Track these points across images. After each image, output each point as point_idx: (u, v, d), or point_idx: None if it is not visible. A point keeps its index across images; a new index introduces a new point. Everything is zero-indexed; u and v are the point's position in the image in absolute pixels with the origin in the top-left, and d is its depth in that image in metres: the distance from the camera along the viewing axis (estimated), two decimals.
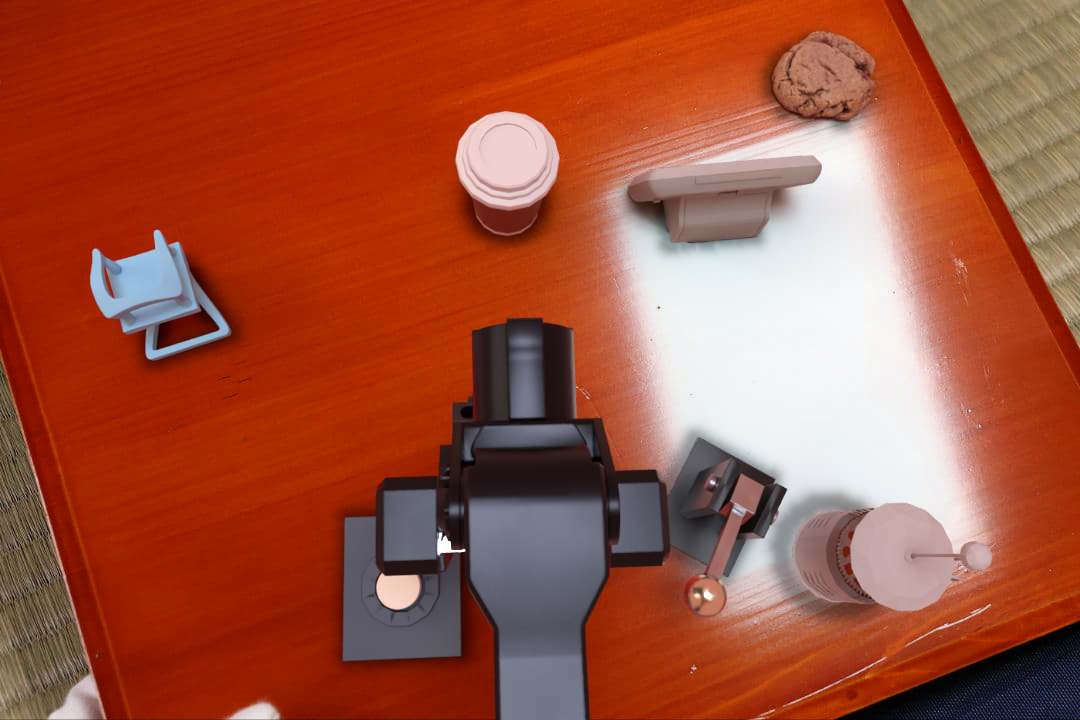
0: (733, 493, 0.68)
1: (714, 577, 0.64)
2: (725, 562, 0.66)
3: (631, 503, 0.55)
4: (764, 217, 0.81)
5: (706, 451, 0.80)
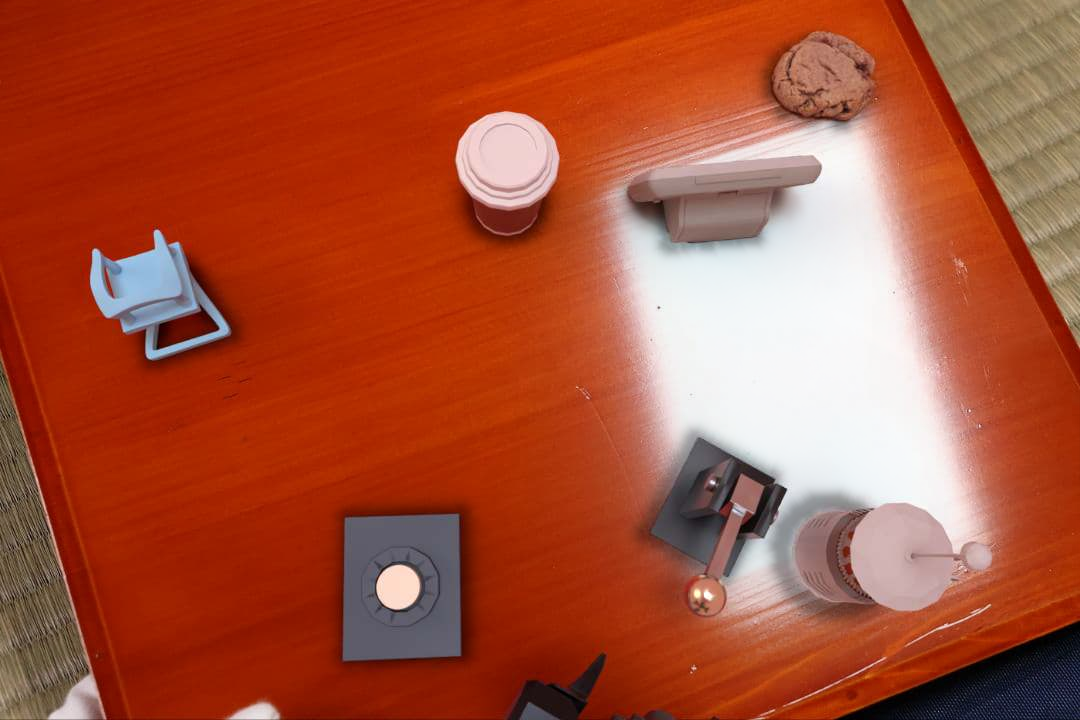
0: (733, 493, 0.68)
1: (714, 577, 0.64)
2: (725, 562, 0.66)
3: None
4: (764, 217, 0.81)
5: (706, 451, 0.80)
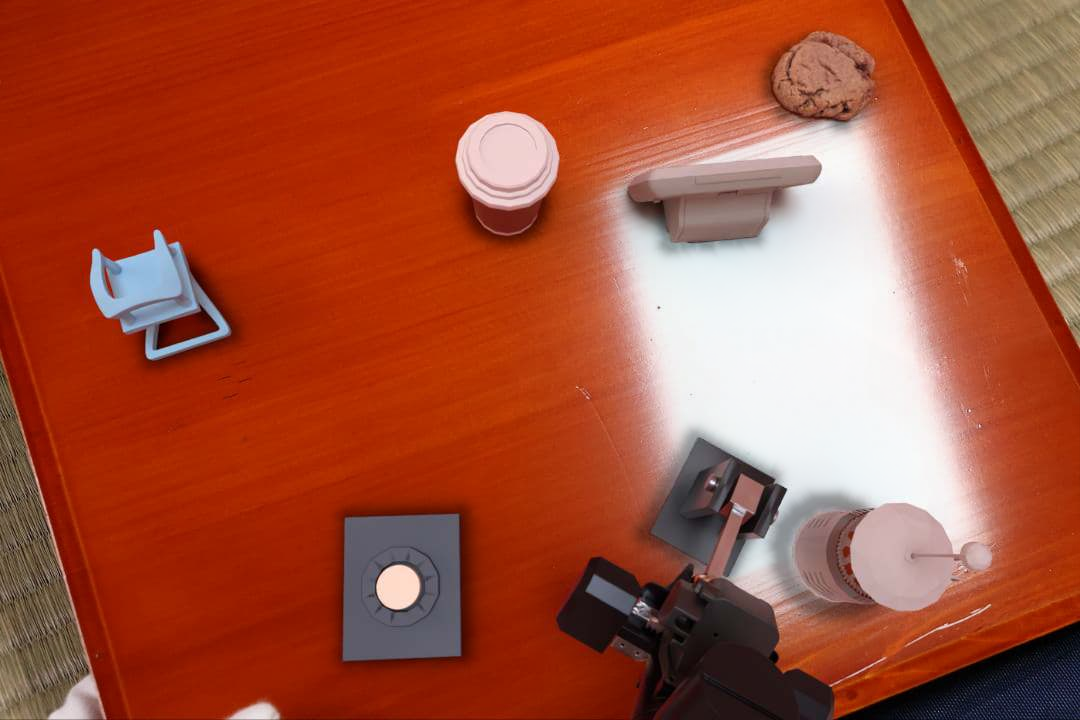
0: (733, 493, 0.68)
1: (714, 577, 0.64)
2: (725, 562, 0.66)
3: None
4: (764, 217, 0.81)
5: (706, 451, 0.80)
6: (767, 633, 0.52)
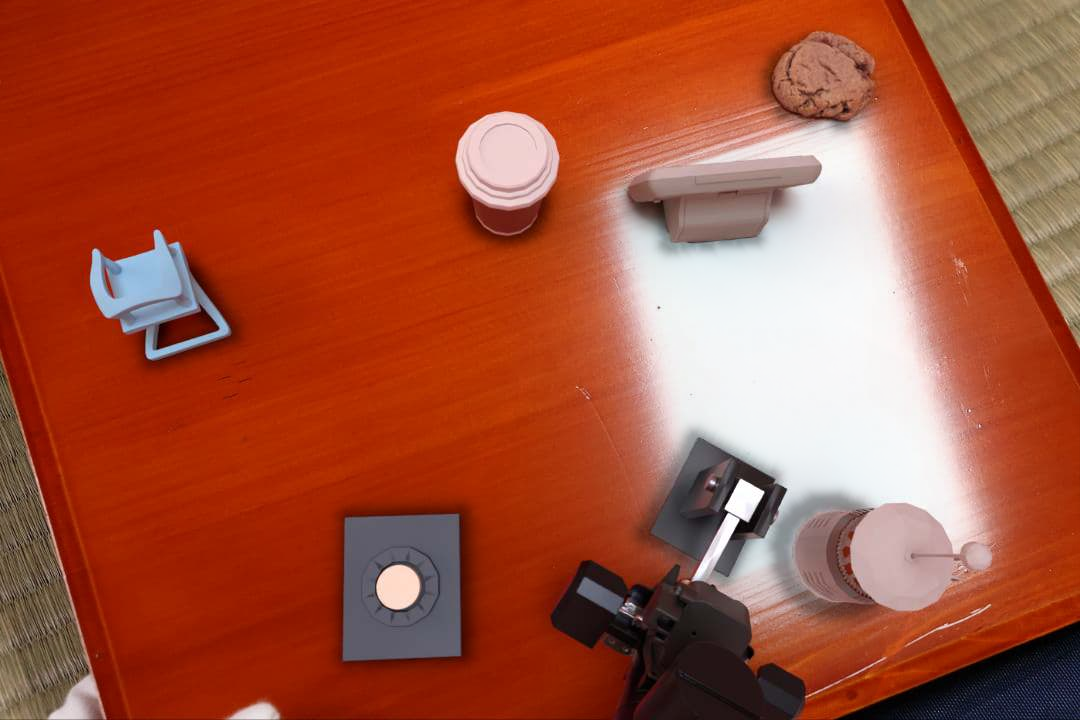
0: (728, 501, 0.68)
1: None
2: (711, 569, 0.69)
3: None
4: (764, 217, 0.81)
5: (706, 451, 0.80)
6: (741, 632, 0.57)
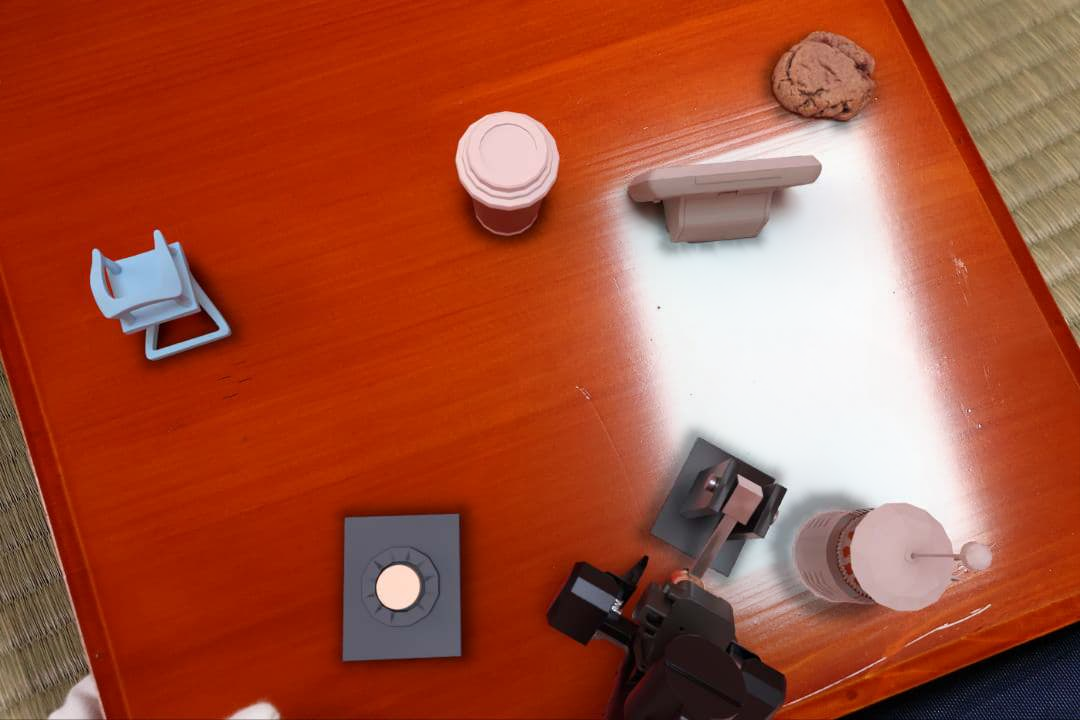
0: (726, 504, 0.69)
1: None
2: (708, 564, 0.70)
3: (744, 705, 0.66)
4: (764, 217, 0.81)
5: (706, 451, 0.80)
6: (725, 627, 0.61)
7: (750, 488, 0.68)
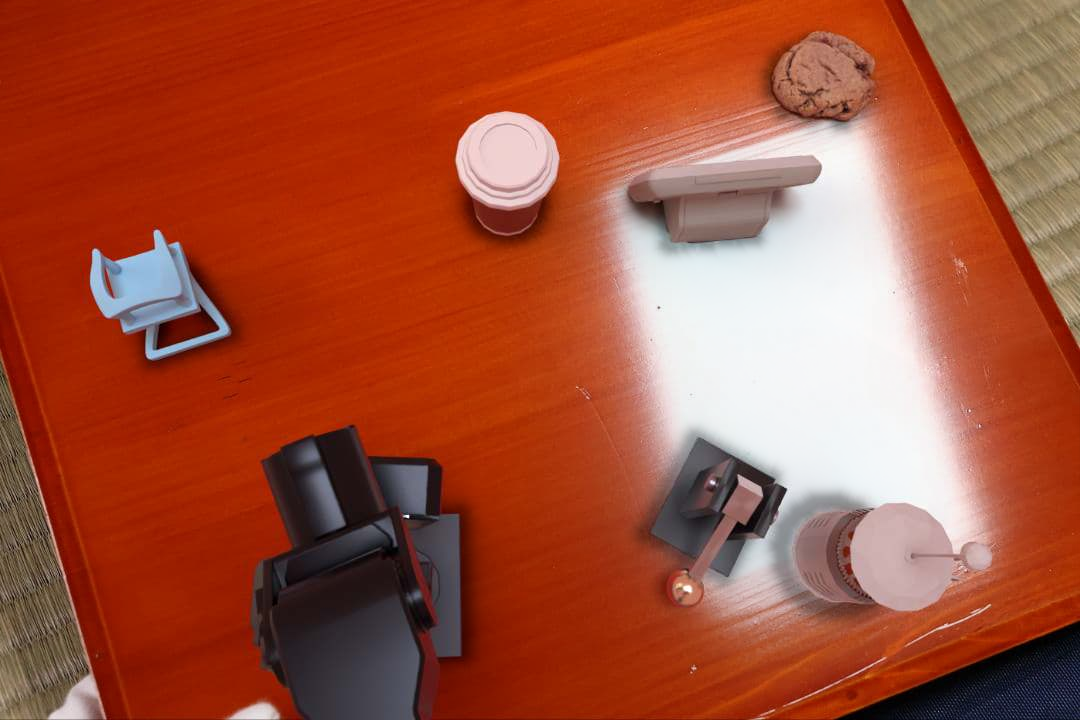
0: (726, 504, 0.69)
1: (691, 583, 0.70)
2: (708, 564, 0.70)
3: (380, 491, 0.58)
4: (764, 217, 0.81)
5: (706, 451, 0.80)
6: (262, 571, 0.56)
7: (750, 488, 0.68)
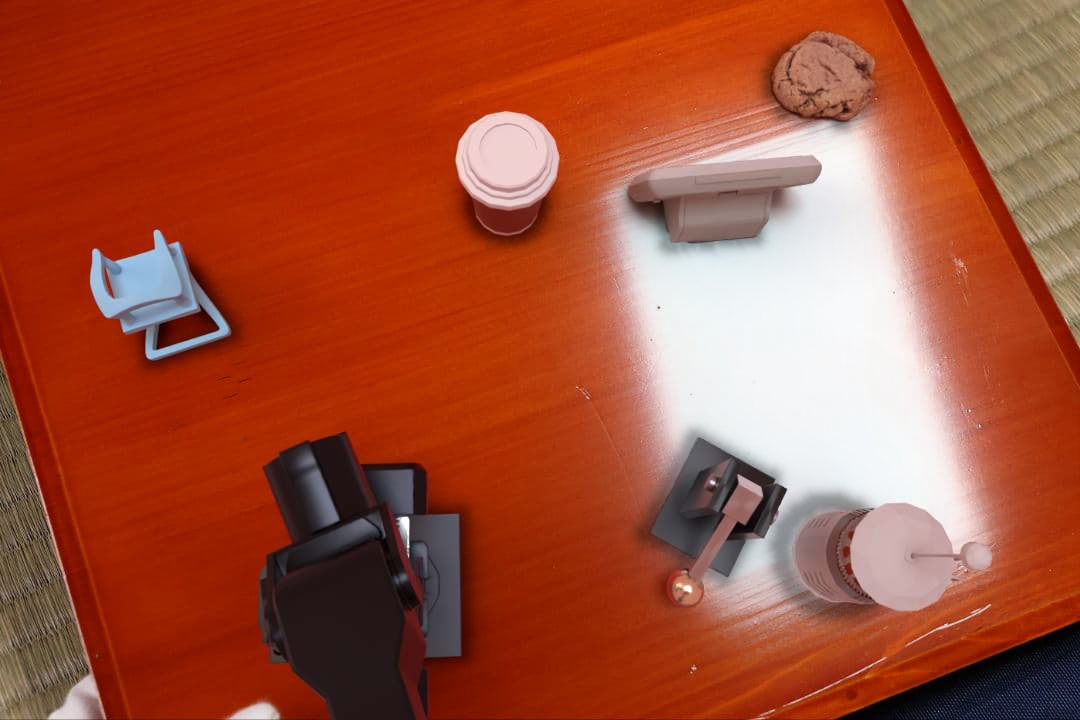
0: (726, 504, 0.69)
1: (691, 583, 0.70)
2: (708, 564, 0.70)
3: None
4: (764, 217, 0.81)
5: (706, 451, 0.80)
6: (266, 574, 0.61)
7: (750, 488, 0.68)
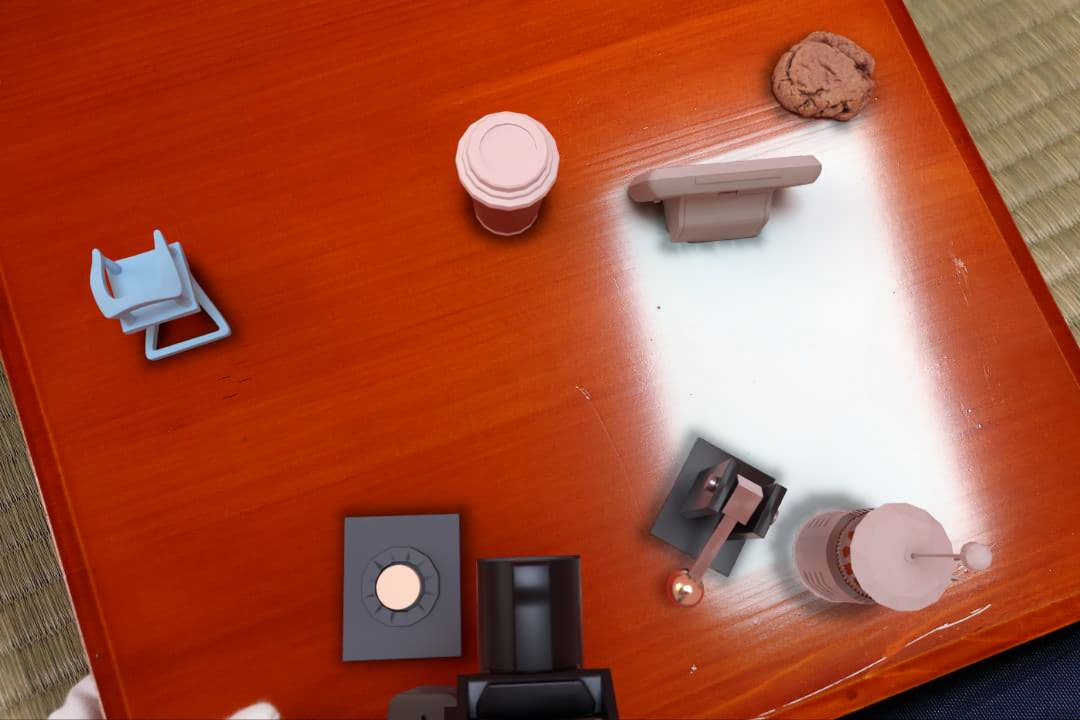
0: (726, 504, 0.69)
1: (691, 583, 0.70)
2: (708, 564, 0.70)
3: None
4: (764, 217, 0.81)
5: (706, 451, 0.80)
6: (397, 708, 0.52)
7: (750, 488, 0.68)
